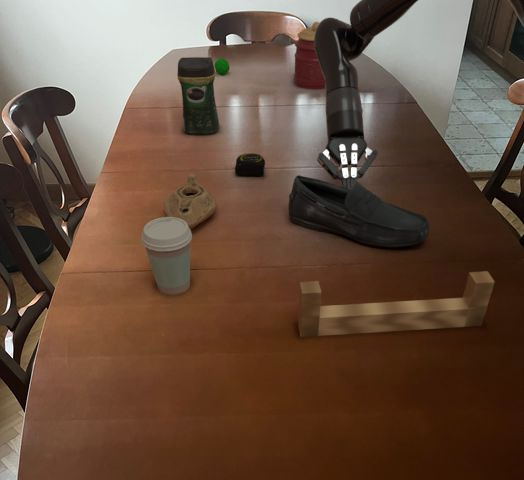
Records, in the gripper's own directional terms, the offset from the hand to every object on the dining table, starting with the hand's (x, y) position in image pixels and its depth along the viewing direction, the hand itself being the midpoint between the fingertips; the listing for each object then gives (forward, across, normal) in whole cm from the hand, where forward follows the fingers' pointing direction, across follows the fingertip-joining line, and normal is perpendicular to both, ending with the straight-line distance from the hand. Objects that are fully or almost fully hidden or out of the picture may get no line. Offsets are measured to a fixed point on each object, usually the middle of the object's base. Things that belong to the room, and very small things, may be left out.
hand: (350, 197), depth 122 cm
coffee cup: (+19, +36, +12) cm, 43 cm away
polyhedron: (-66, +24, -72) cm, 101 cm away
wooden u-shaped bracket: (+29, 0, +23) cm, 37 cm away
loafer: (+8, 0, +2) cm, 8 cm away
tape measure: (-12, +19, -19) cm, 30 cm away
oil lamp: (+2, +33, -4) cm, 33 cm away
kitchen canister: (-57, -5, -63) cm, 85 cm away
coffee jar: (-32, +31, -38) cm, 59 cm away
